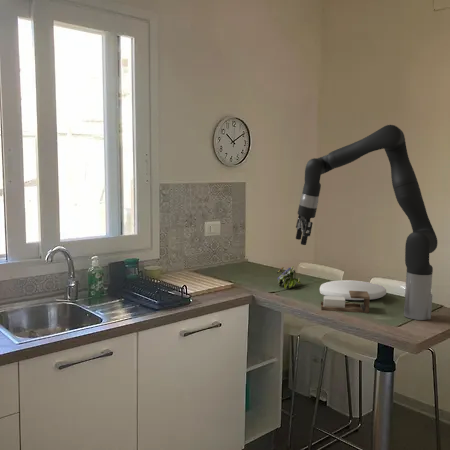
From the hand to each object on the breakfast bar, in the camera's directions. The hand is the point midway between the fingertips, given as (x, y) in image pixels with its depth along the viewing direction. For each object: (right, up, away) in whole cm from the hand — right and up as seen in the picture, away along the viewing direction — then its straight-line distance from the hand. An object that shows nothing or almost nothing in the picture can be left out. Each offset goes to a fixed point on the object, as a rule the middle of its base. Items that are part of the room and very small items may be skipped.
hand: (300, 241), depth 223 cm
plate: (+23, -24, +5) cm, 34 cm away
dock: (+15, -27, -17) cm, 35 cm away
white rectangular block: (+11, -26, -17) cm, 33 cm away
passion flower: (-3, -22, +20) cm, 30 cm away
